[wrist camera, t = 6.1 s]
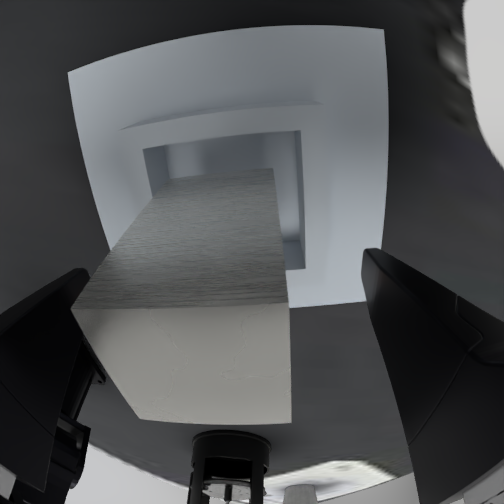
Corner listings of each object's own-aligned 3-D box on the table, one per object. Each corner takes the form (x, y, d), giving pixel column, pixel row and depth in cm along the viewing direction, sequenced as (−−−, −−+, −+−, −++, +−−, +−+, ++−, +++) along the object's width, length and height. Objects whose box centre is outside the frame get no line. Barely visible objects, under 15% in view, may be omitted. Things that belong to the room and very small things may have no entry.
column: (280, 271, 14) (291, 432, 7) (190, 277, 14) (147, 428, 7) (273, 167, 11) (288, 302, 5) (168, 179, 12) (70, 308, 5)
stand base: (371, 295, 19) (389, 339, 16) (136, 308, 21) (118, 352, 17) (380, 30, 11) (416, 19, 8) (72, 72, 13) (25, 77, 9)
